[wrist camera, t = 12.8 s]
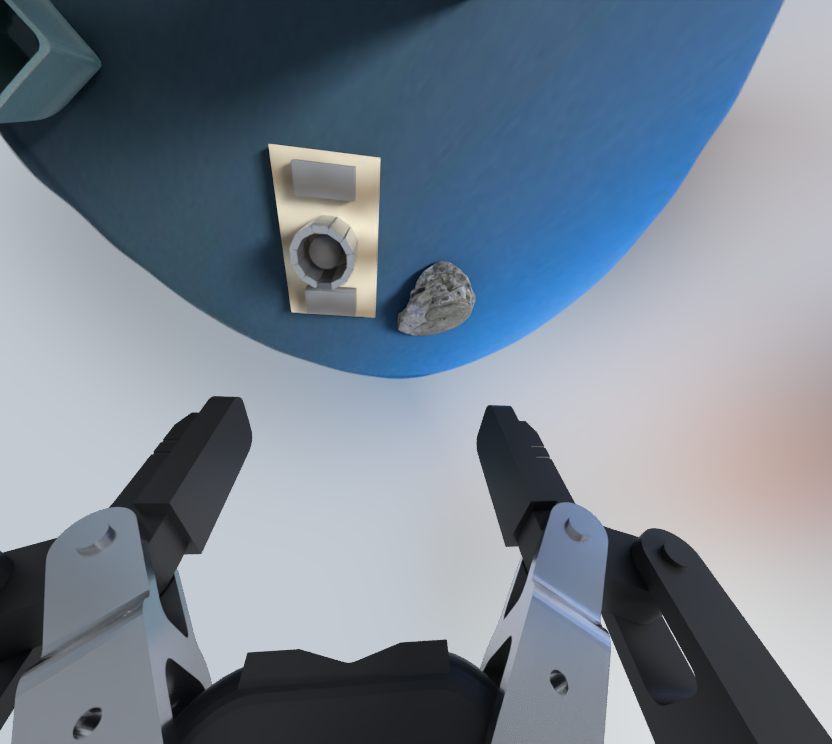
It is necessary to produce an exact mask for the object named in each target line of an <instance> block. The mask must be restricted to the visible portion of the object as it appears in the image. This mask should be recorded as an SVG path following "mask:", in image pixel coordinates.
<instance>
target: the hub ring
mask: <svg viewBox="0 0 832 744" xmlns="http://www.w3.org/2000/svg"><path fill="white" fill-rule="evenodd" d="M349 226H350V225H349V224H347V223H346V222H345V221H343V220H342V219H340V218H339V217H338V218H337V216H328V215H322V216H319V217H317V218H315V219H313V220H311V221H310V222H308V223H307V224H306V225H305V226H304V227H303V228H302V229H300V230H299V231H298V232H297V233H296V234H295V236H294V239H293V241H292V243H291V245H290V249H289V252H290V259H291V264H292V267H293V269H294V270H295V271H296V273H297V274H298V276H299V277H300V279H302V278H303V280H302V281H304V282H306V283H307V284H309V285H311V286H312V287H314V288H316V287H317V289H326V290H332V289H335V288H337V287H339V286H342V285H344V284H345V283H346V282H347V281H348V279H349V277H350V276H351V274H352V272H353V271H354V267H355V264H356V260H357V257H358V241H357V240H358V239H357V237H356V235H355V233H354V231H353V229H352V227H349ZM313 233H319V234H328V235H329V236H331V237H332V238H334V239H335V240H337V241H338V242H340V244H341V246H342V248H343V249H344V251H345V253H346V255H347V262H346V263H344V264H342V265H340V266H338V267H336V266H334V267H333V268H330V269H324V268H321V267H319V266H317V265H316V264H315V263H314V262H313V261H312V259H311V257H310V254H309V248H310V241H309V237H310V235H311V234H313Z"/></svg>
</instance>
